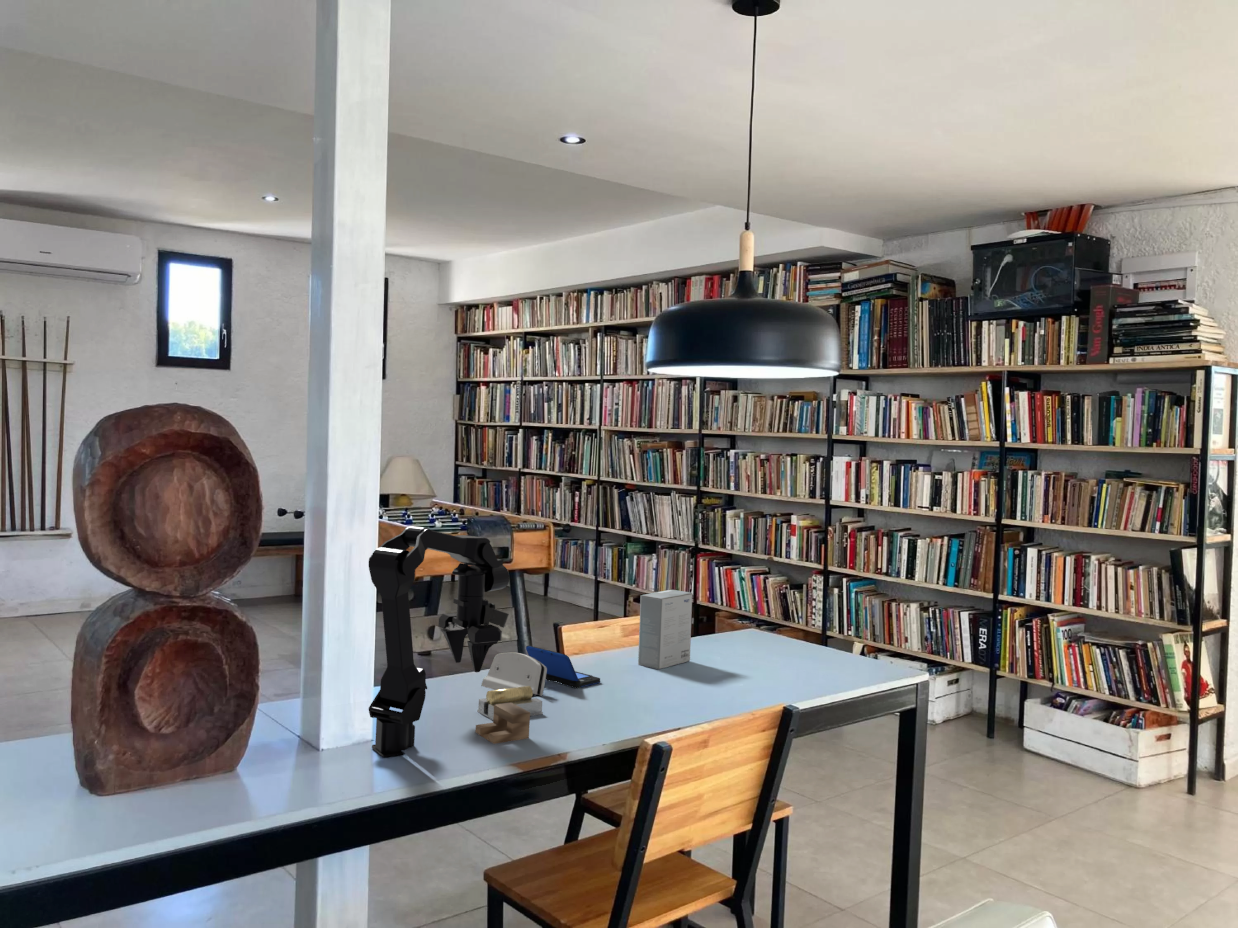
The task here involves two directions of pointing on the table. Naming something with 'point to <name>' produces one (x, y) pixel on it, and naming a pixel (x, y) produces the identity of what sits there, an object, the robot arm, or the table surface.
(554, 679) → the handheld game console
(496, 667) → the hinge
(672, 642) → the hard drive box
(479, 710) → the v block
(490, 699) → the axle
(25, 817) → the table surface
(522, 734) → the brown notched block
